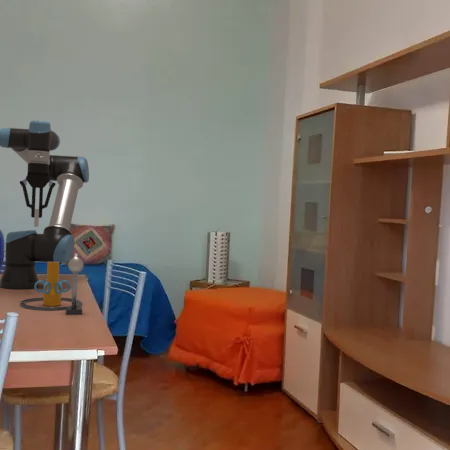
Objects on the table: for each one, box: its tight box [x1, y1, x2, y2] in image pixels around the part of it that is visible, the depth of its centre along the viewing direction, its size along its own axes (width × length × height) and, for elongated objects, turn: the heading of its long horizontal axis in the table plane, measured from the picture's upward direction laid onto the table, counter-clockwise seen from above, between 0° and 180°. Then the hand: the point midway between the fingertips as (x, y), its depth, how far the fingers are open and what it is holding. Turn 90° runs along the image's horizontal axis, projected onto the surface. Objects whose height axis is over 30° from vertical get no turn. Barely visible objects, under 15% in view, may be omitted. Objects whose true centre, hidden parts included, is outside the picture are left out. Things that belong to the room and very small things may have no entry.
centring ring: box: [18, 296, 84, 311], centre depth 199 cm, size 21×21×1 cm
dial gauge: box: [65, 253, 85, 316], centre depth 188 cm, size 8×5×20 cm, turn 18°
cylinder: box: [33, 262, 72, 307], centre depth 198 cm, size 12×10×15 cm
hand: (36, 226), depth 211 cm, fingers closed
